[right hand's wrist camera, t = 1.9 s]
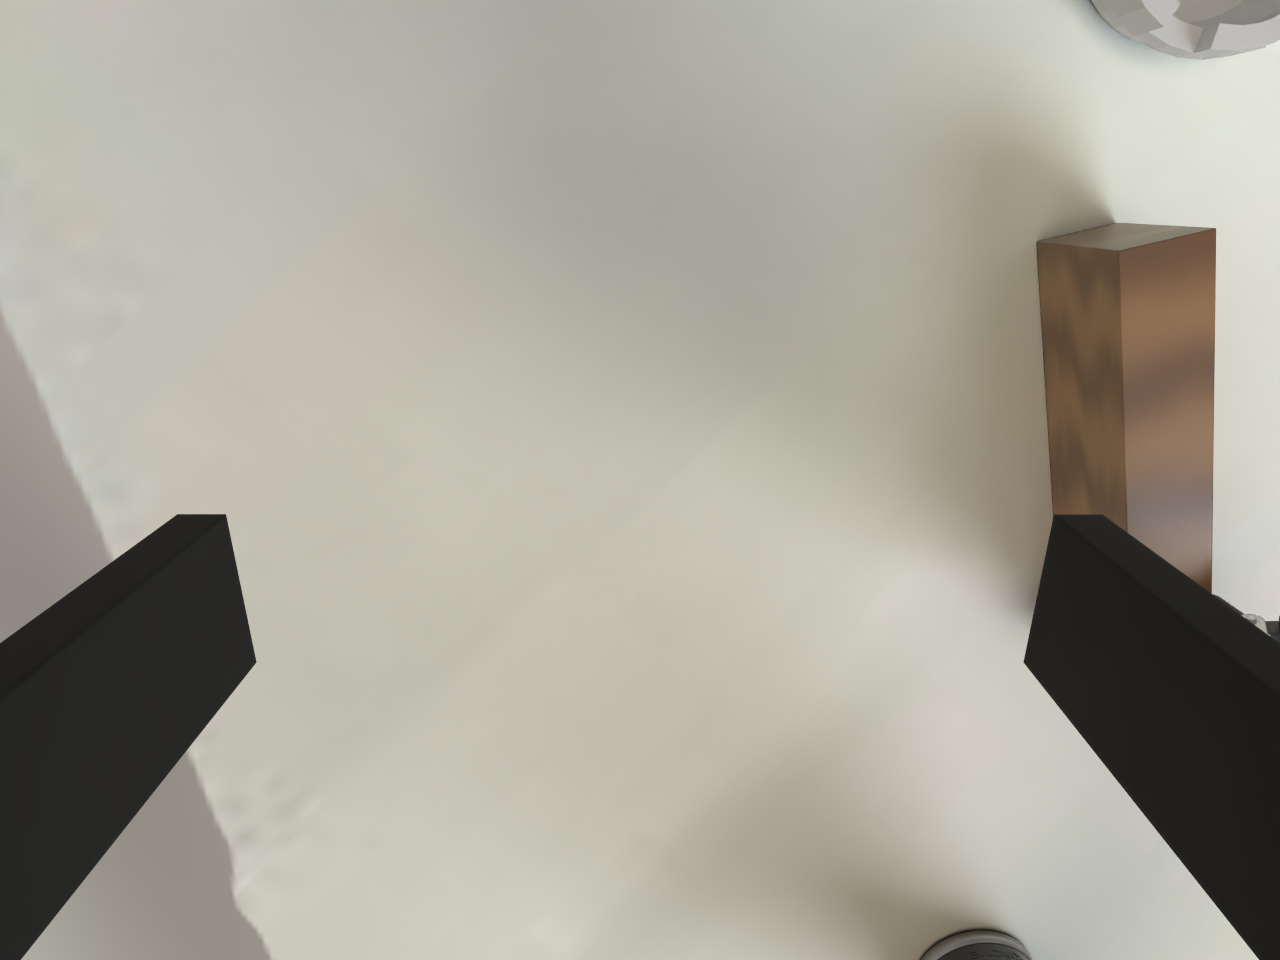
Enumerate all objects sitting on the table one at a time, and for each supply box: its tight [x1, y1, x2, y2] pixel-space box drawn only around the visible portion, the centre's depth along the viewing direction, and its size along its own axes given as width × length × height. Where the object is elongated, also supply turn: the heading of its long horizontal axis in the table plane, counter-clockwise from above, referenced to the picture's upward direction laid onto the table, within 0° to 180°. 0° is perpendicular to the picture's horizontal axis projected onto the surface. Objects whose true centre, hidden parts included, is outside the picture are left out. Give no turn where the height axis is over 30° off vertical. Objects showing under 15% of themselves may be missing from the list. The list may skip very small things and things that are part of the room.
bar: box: [1037, 223, 1216, 594], centre depth 45 cm, size 27×4×8 cm, turn 13°
